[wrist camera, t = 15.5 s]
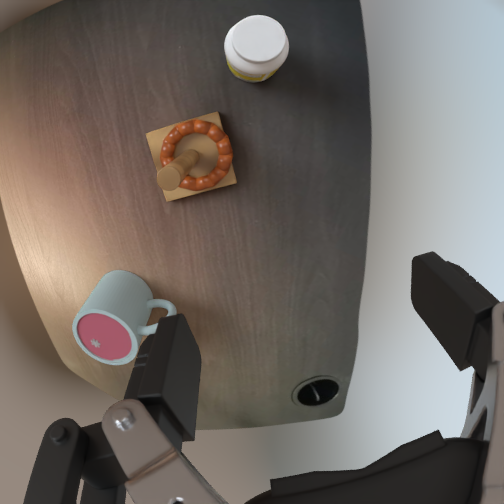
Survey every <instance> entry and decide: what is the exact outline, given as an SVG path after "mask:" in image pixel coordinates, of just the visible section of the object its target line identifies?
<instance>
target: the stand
mask: <svg viewBox="0 0 504 504" xmlns="http://www.w3.org/2000/svg"><path fill="white" fill-rule="evenodd" d="M193 119H198V120H203V121H208V122H212V123H215V124H216V125H217V126H218V127H219V128H220V129H221V130H222V131H223V127H222V123H221V119H220V116H219V112H214V113H210V114H207V115H203V116H200V117H196V118H193ZM189 120H192V119H189ZM189 120H186V121H189ZM186 121H183V122H186ZM183 122H180V123H183ZM180 123H176V124H173V125H170V126H167V127H164V128H161V129H158V130H155V131H152V132H149V133H146V136H147V140H148V143H149V147H150V150H151V153H152V157H153V160H154V163H155V167H156V170H157V173H158V174H157V183H158V185H159V187H160V188H162V189H163V192H164V195H165V198H166V201H167V202H169V201H172V200H176V199H179V198H183V197H186V196H190V195H194V194H197V193H201V192H205V191H208V190H212V189H216V188H220V187H223V186H227V185H231V184H235V183H237V180H236V176H235V172H234V169H233V165H232V162H231V165H230V169H229V172H228V174H227V175H226V176H225V177H224V178H223V179H222V180H221V181H220V182H219V183H218V184H217V185H216V186H214V187H211V188H208V189H204V190H201V191H192V190H187V189H183V188H179V187H178V186H179V185H180V184H181V182H182V181H183V180H184V179H185V177H186V176H191V177H196V178H198V177H201V176H204V175H208V174H209V173H210V172H211V171H212V170H213V169H214V168H215V167H216V165H217V161H218V157H219V153H218V149H217V146H216V143H215V142H214V141H213V140H211V139H210V138H209V137H208V136H207V135H203V134H199V133H193V134H190V135H187V136H184V137H183V138H182V139H181V140H180V141H179V142H178V143H177V144H176V146H175V151H174V155H173V157H174V160H173V161H171V162H170V163H169V164H167V165H166V166H165V167H162V164H161V161H160V152H161V147H162V143H163V139H164V138H165V137H166V136H167V134H168V133H169V132H170V131H171V130H172V129H173V128H174V127H175V126H176V125H177V124H180ZM223 132H224V131H223Z"/></svg>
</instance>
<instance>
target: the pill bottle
mask: <svg viewBox="0 0 504 504" xmlns="http://www.w3.org/2000/svg"><path fill="white" fill-rule="evenodd" d="M224 48H225V54H226V59H227V64H228V67H229V69H230V70H231V72H232V73H233V74H234V75H235V76H236V77H237V78H239V79H241V80H243V81H247V82H260V81H264V80H266V79H268V78H269V77H271V76H272V75H273V74H274V73H275V72H276V71H277V70H278V68H279V67H280V66H281V65H282V64H283V63H284V61H285V59H286V58H287V55H288V51H289V43H288V38H287V36H286V34H285V31H284V29H283V28H282V26H281V25H280V24H279V23H278V22H277V21H276V20H274V19H272V18H270V17H267V16H262V15H255V16H250V17H247V18H245V19H243V20H241V21H240V22H238V23H237V24H236V25H234V26H233V27H232V28H231V29H230V31H229V32H228V34H227V36H226V39H225V44H224Z"/></svg>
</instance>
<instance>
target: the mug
mask: <svg viewBox="0 0 504 504" xmlns="http://www.w3.org/2000/svg"><path fill="white" fill-rule="evenodd" d="M155 307H162V308H165V309H167V310H168V315H167V316H171V315H176V308H175V305H174V304H172V303H171V302H170V301H168V300H164V299H153V295H152V292H151V290H150V288H149V287H148V285H147V284H146V283H145V282H144V281H143V280H142V279H141V278H140V277H139V276H137V275H135V274H133V273H131V272H128V271H124V270H114V271H111V272H108V273H107V274H105V275H104V276H103V277H102V278H101V280H100V281H99V283H98V284H97V285H96V287H95V288H94V290H93V291H92V293H91V294H90V296H89V297H88V299H87V300H86V302H85V303H84V305H83V306H82V308H81V309H80V311H79V312H78V314H77V315H76V317H75V319H74V321H73V326H72V328H73V334H74V337H75V339H76V341H77V343H78V344H79V346H80V347H81V348H82V349H83V350H84V351H85V352H86V353H87V354H88V355H89V356H91V357H92V358H94V359H96V360H98V361H100V362H102V363H106V364H110V365H122V364H126V363H128V362H130V361H131V360H133V359H134V357H135V356H136V354H137V351H138V348H139V345H140V342H141V339H142V336H143V335H149V334H154V333H155V332H156V328H157V325H158V323H156V324H154V325H150V326H146V325H147V322H148V319H149V316H150V314H151V311H152V308H155Z"/></svg>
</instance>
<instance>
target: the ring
mask: <svg viewBox="0 0 504 504" xmlns="http://www.w3.org/2000/svg"><path fill="white" fill-rule="evenodd" d="M193 133H199V134H203V135H207V136H208V137H209V138H210V139H211V140H213V141H214V142H215V143H216V146H217V149H218V153H219V157H218V161H217V165H216V167H215V168H214V169H213V170H212V171H211V172H210V173H209V174H208V175H204V176H201V177H198V178H196V177H191V176H186V177H185V179H184V180H183V181H182V182H181V184H180V185H179V186H178V187H179V188H183V189H187V190H192V191H201V190H204V189H208V188H211V187H214V186H216V185H217V184H218V183H219V182H220V181H221V180H222V179H223V178H224V177H225V176H226V175H227V174H228V172H229V169H230V165H231V162H232V158H233V151H232V148H231V144H230V141H229V137H228V135H227V134H226V133H224V132H223V131H222V130H221V129H220V128H219V127H218V126H217V125H216V124H215V123H212V122H208V121H203V120H198V119H192V120H189V121H186V122H183V123H180V124H177V125H176V126H175V127H174V128H173V129H172V130H171V131H170V132H169V133H168V134H167V136H166V137H165V138H164V139H163V143H162V147H161V152H160V161H161V164H162V167H165V166H166V165H167V164H169V163H170V162H171V161H173V160H174V157H173V155H174V151H175V146H176V144H177V143H178V142H179V141H180V140H181V139H182V138H183V137H184V136H187V135H190V134H193Z"/></svg>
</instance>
